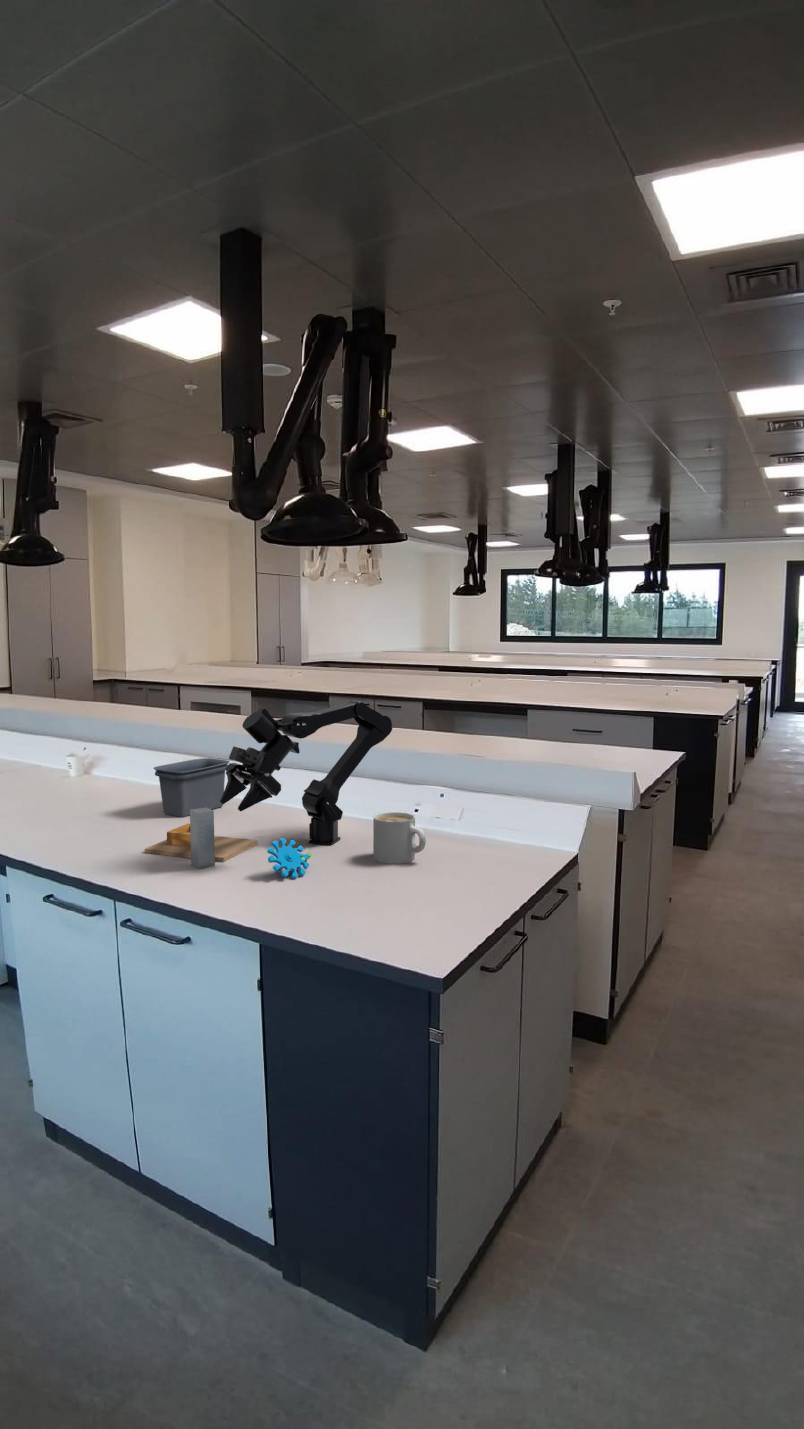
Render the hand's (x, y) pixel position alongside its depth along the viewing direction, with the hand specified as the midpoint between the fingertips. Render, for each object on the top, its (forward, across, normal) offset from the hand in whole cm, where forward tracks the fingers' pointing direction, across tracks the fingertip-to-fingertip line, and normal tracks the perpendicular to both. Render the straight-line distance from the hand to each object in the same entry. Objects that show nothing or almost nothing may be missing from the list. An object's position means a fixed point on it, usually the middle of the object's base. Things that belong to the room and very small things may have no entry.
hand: (230, 806), depth 177 cm
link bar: (+14, 0, +4) cm, 15 cm away
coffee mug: (-14, +24, +32) cm, 42 cm away
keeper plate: (+10, -13, +8) cm, 18 cm away
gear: (+5, +18, +14) cm, 23 cm away
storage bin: (0, -54, +18) cm, 57 cm away
